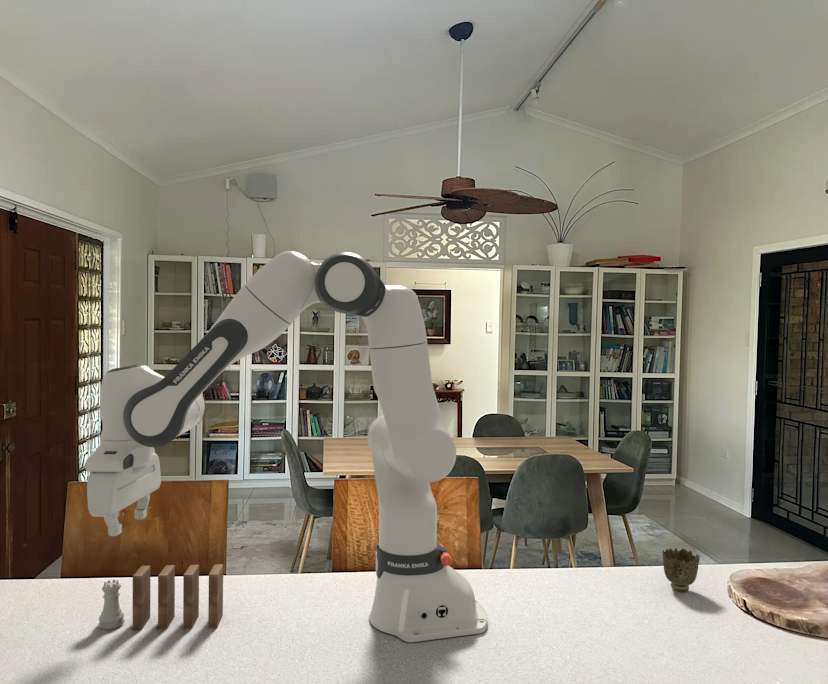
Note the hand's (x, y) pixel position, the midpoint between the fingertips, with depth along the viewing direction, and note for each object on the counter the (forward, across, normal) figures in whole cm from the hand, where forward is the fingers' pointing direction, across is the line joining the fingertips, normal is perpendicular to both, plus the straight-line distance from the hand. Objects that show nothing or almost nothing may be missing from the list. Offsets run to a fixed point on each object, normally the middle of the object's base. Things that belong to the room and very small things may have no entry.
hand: (128, 526), depth 119 cm
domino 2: (+18, -1, +7) cm, 20 cm away
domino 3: (+18, -1, +11) cm, 22 cm away
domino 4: (+18, -2, +16) cm, 24 cm away
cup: (+20, -25, +109) cm, 114 cm away
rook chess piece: (+18, +1, -3) cm, 19 cm away
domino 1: (+18, 0, +2) cm, 18 cm away
